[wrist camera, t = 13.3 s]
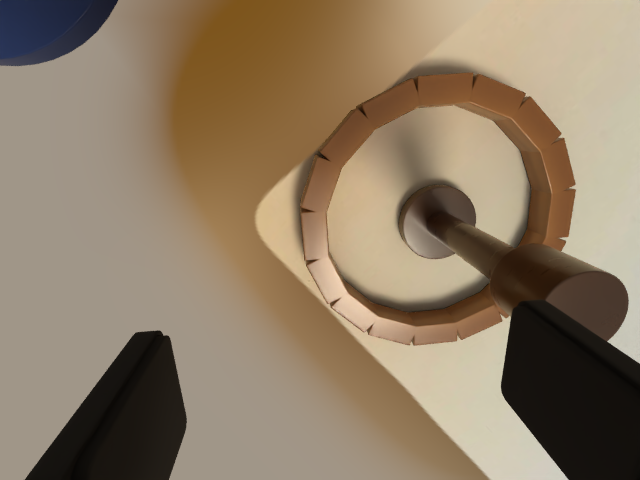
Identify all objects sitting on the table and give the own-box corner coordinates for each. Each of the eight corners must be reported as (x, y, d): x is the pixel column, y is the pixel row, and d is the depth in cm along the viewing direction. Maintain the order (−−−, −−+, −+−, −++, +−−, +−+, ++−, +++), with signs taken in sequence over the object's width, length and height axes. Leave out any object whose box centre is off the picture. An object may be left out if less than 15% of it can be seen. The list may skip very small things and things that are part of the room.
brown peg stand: (383, 223, 24) (481, 323, 11) (436, 168, 23) (605, 212, 11) (431, 267, 25) (565, 400, 13) (483, 217, 24) (681, 307, 12)
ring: (247, 233, 23) (243, 242, 21) (434, 11, 20) (448, -2, 18) (424, 368, 28) (434, 385, 26) (600, 203, 24) (626, 209, 23)
